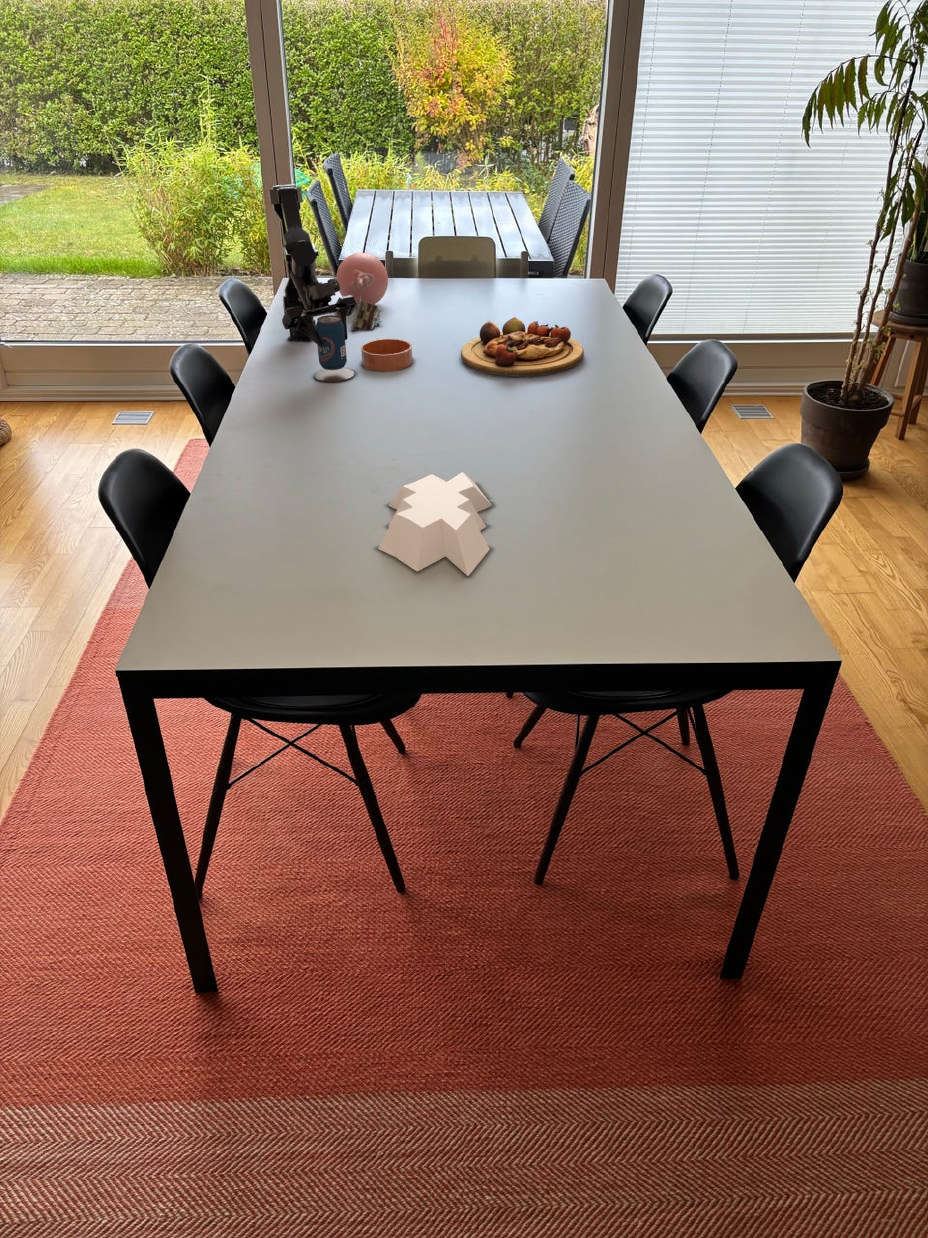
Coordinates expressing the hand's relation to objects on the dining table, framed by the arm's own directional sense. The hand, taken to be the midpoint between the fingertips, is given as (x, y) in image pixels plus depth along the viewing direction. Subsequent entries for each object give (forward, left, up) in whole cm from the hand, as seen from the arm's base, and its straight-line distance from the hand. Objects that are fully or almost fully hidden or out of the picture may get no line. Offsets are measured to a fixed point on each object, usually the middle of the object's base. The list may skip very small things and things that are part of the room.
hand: (333, 342), depth 242 cm
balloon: (-14, +58, -9) cm, 60 cm away
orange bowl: (+9, +13, -9) cm, 18 cm away
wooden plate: (+42, +24, -9) cm, 49 cm away
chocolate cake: (-7, +42, -9) cm, 43 cm away
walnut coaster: (-1, +1, -9) cm, 9 cm away
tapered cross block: (+47, -70, -9) cm, 85 cm away
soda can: (-1, +1, -7) cm, 7 cm away
